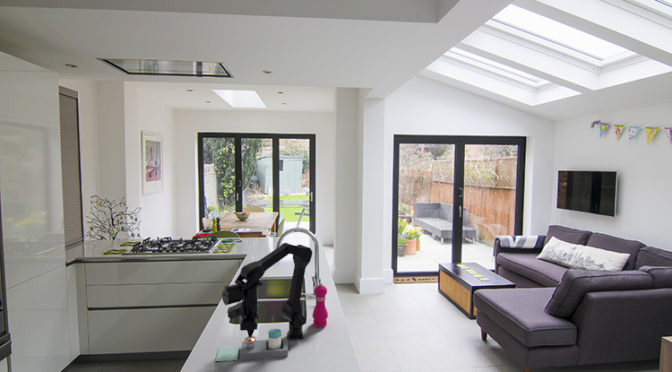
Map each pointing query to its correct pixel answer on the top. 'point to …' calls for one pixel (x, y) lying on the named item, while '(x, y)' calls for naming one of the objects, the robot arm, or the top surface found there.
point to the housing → (263, 350)
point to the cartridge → (274, 339)
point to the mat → (227, 354)
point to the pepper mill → (320, 306)
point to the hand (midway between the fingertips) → (250, 336)
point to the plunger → (250, 342)
